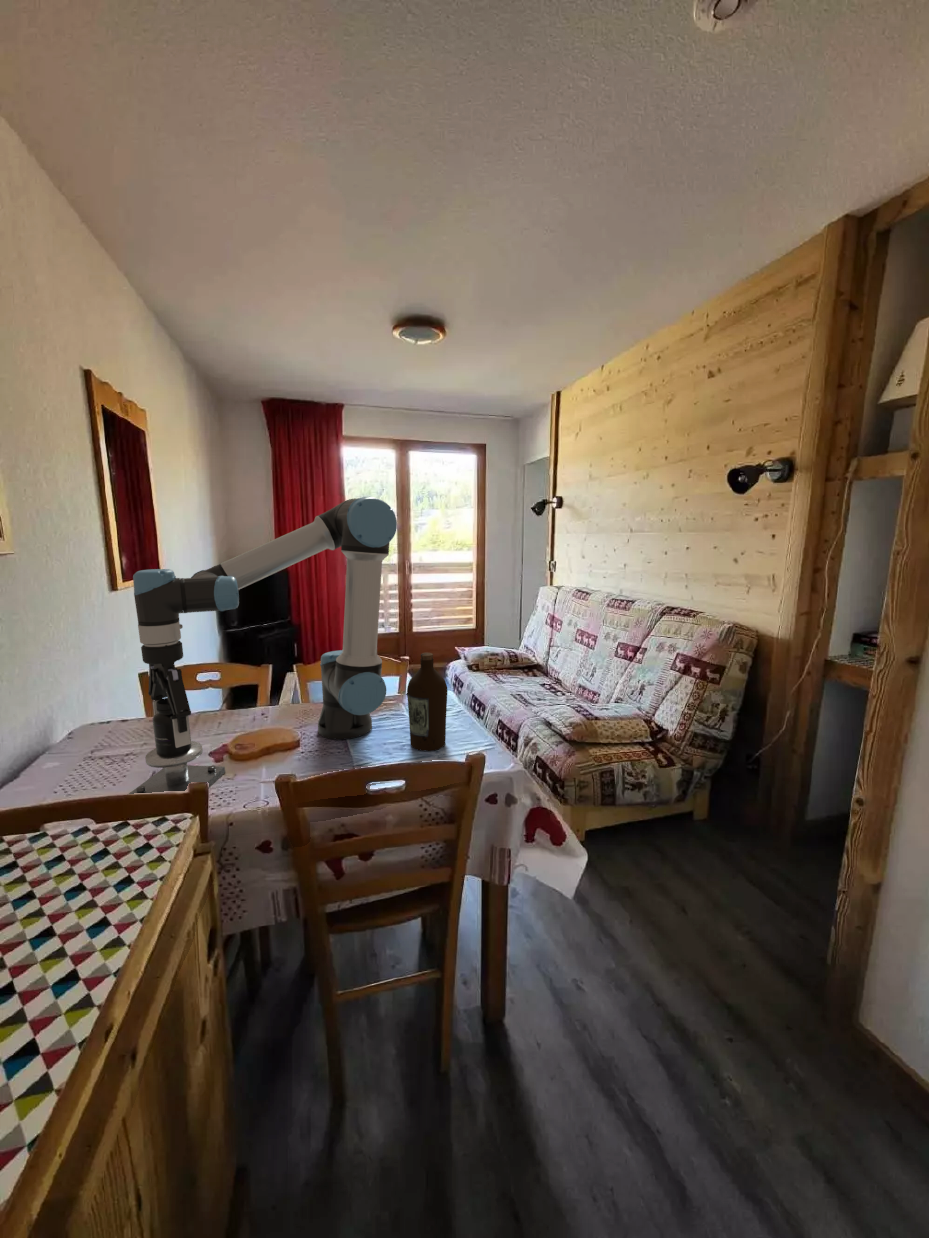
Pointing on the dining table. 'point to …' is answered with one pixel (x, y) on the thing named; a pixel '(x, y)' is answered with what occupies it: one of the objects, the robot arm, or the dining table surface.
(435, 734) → the olive oil
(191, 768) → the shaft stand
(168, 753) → the supplement bottle
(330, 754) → the dining table surface
